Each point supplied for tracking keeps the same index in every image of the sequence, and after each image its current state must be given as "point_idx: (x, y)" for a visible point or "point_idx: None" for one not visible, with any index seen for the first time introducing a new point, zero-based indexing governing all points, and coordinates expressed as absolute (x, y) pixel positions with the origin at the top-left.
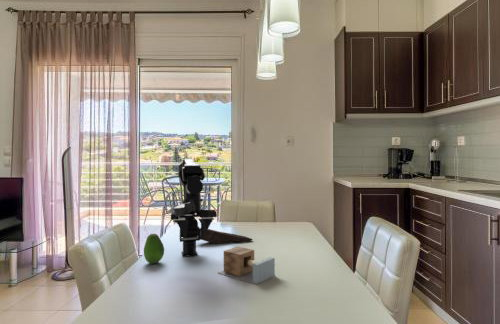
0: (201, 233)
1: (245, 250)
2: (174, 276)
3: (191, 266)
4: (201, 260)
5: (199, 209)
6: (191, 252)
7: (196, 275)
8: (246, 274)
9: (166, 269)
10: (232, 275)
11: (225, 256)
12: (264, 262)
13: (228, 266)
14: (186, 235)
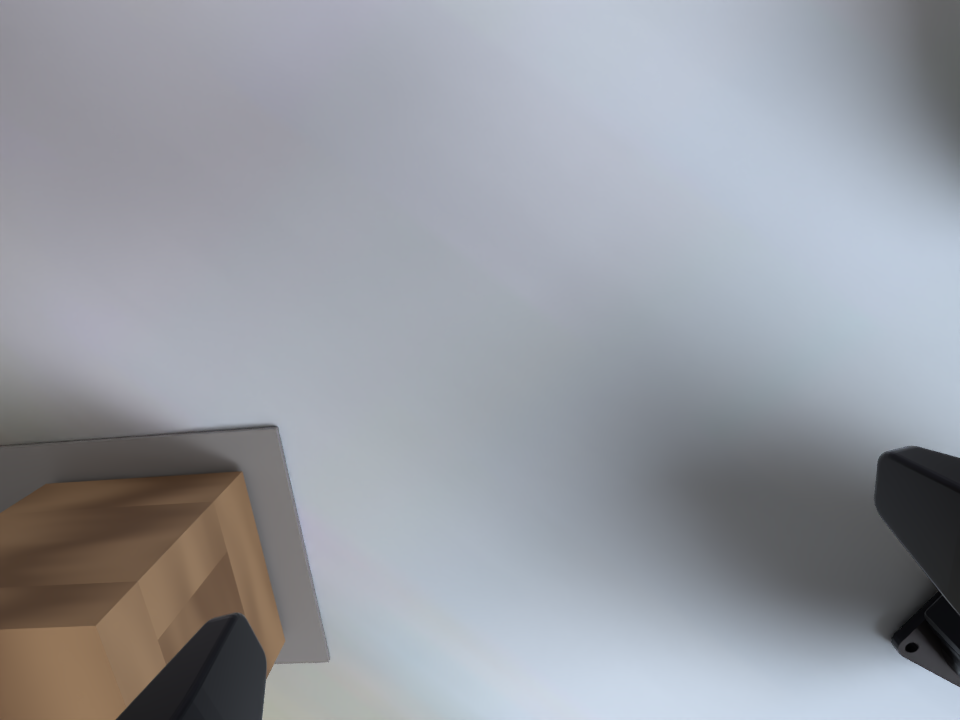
0: (168, 711)
1: None
2: (514, 33)
3: (650, 383)
4: (724, 567)
5: None
6: (957, 617)
7: (367, 242)
8: None
9: (807, 111)
10: (128, 466)
11: (112, 575)
12: None
13: (142, 510)
14: (928, 573)
